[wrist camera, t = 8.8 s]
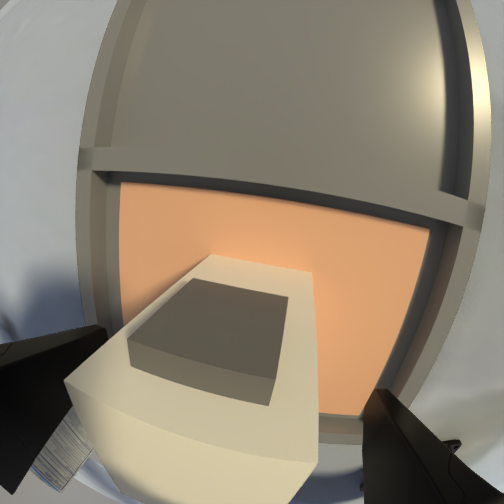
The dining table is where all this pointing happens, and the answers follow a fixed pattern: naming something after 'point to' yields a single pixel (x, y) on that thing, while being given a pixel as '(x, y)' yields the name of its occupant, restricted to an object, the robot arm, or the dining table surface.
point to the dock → (293, 170)
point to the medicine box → (63, 453)
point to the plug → (209, 389)
